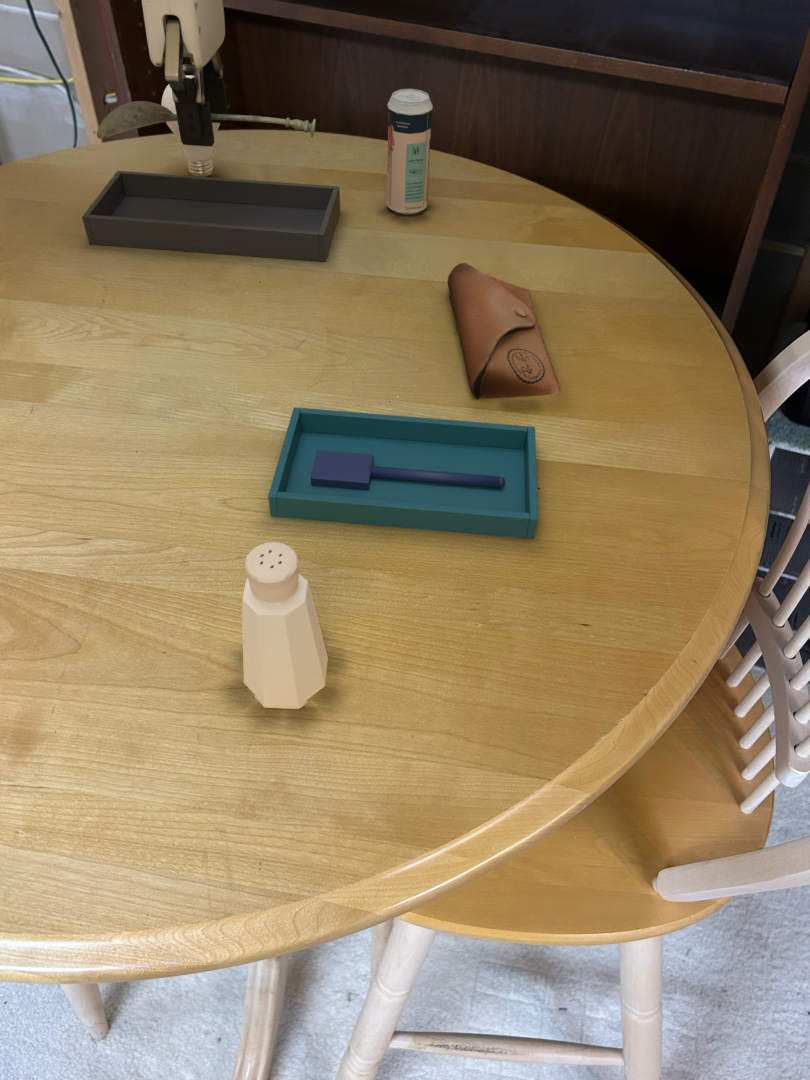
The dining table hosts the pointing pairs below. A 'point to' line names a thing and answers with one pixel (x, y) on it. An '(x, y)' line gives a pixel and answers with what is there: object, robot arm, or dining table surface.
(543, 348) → the sunglasses case
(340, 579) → the dining table surface
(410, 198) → the beer can
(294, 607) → the pepper shaker
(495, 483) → the navy spatula
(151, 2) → the robot arm
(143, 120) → the soupspoon
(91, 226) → the grey tray
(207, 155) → the light bulb
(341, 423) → the teal tray
